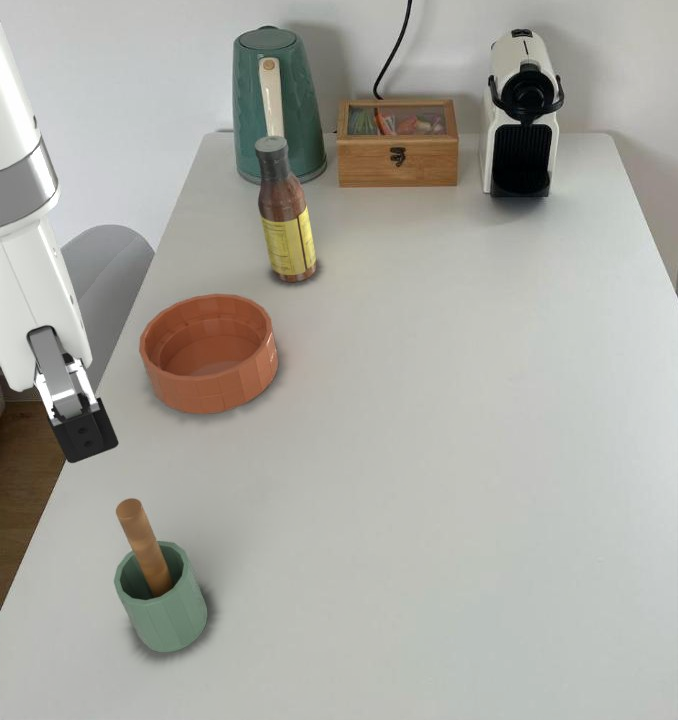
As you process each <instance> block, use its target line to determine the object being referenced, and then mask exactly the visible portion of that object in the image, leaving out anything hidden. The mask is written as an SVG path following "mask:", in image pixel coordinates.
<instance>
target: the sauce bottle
mask: <svg viewBox="0 0 678 720" xmlns="http://www.w3.org/2000/svg"><path fill="white" fill-rule="evenodd" d="M289 150H290V149H289V144H288V142H287V139H286V138H285V137H283V136H281V135H266V136H263V137H260V138H259V139H257V140H256V141H255V142H254V153H255V157H257V159H258V160H257V161H258V164H259V169H260V172H259V173H260V190H259V193H258V198H257V208H258V212H259V216H260V221H261V225H262V229H263V234H264V239H265V244H266V248H267V253H268V257H269V262H270V266H271V269H273V274H274V275H275V277H276V278H277V279H279V280H281V281H283V282H287V283H297V282H301V281H304V280H307V279H309V278H310V277H312V276H313V275H314V273H315V272H316V269H317V262H316V259H317V257H316V251H315V246H314V245H315V244H314V239H313V234H312V233H313V232H312V228H311V221H310V217H309V211H308V205H307V201H306V199H305V192H304V189H303V186H302V185H301V182H300V179H299V178H298V177H297V176H296V175H295V174H294V172H293V171H292V167H291V165H290V160H289Z"/></svg>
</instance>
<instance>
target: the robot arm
mask: <svg viewBox="0 0 678 720" xmlns="http://www.w3.org/2000/svg"><path fill="white" fill-rule="evenodd" d="M61 196H62V185H61V183H60V181H59V177H58V176H57V173H56V170H55V168H54V165H53V162H52V159H51V156H50V154H49V151H48V148H47V145H46V143H45V140H44V137H43V135H42V132H41V129H40V126H39V123H38V120H37V118H36V115H35V112H34V110H33V107H32V104H31V101H30V99H29V97H28V94H27V90H26V88H25V86H24V82H23V79H22V77H21V74H20V71H19V69H18V66H17V63H16V61H15V57H14V54H13V52H12V49H11V46H10V44H9V41H8V38H7V35H6V32H5V30H4V27H3V24H2V22H1V20H0V368H1V370H2V372H3V375H4V378H5V380H6V381H7V385H8V386H9V388H10V389H11V390H13V391H15V392H18V393H22V392H24V391H25V390H28V389H31V388H33V387H34V384H36V387H37V390H38V392H39V394H40V397H41V399H42V403H43V405H44V407H45V409H46V413H47V414H48V415H46V419H47V423H48V425H49V426H50V429H51V430H52V432H53V435H54V437H55V439H56V441H57V442H58V445H59V447H60V449H61V451H62V453H63V455H64V457H65V460H66V461H67V462H68V463H69V464H76V463H79V462H81V461H84V460H86V459H89V458H92V457H94V456H98V455H100V454H103V453H105V452H108V451H110V450H113V449H115V448H117V447H118V446H119V439H118V437H117V434H116V431H115V429H114V426H113V424H112V421H111V419H110V418H109V414H108V412H107V410H106V407H105V405H104V402H103V400H102V397H101V396H99V397H96V395H95V392H94V390H93V387H92V385H91V381H90V379H89V377H88V374H87V372H86V370H88V369H89V367H91V364H92V363H93V360H94V359H93V355H92V352H91V347H90V343H89V339H88V336H87V332H86V329H85V324H84V321H83V317H82V313H81V309H80V306H79V303H78V299H77V296H76V293H75V290H74V286H73V283H72V279H71V277H70V274H69V272H68V271H69V270H68V268H67V266H66V262H65V259H64V256H63V253H62V250H61V249H60V245H59V243H58V239H57V237H56V234H55V232H54V229H53V227H52V224H51V220H50V219H49V215H48V214H49V213H50V212H51V211H52V210H53V209H54V208H55V207H56V205H57V204H58V202H59V200H60V197H61ZM73 374H75V375H76V377H77V379H78V383H79V385H80V387H81V390H82V392H77V389H76V388H75V385H74V383H73V381H72V378H71V375H73Z"/></svg>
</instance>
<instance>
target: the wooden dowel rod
mask: <svg viewBox="0 0 678 720" xmlns="http://www.w3.org/2000/svg"><path fill="white" fill-rule="evenodd" d="M115 515H116V517H117V520H118V522H119V524H120V526H121V528H122V531H123V533H124V535H125V537H126V539H127V542H128V543H129V546H130V548H131V551H133V553H134V555H135V557H136V559H137V561H138V564H139V566H140V568H141V570H142V572H143V575H144V577H145V579H146V581H147V583H148V586H149V588H150V590H151V592H152V594H153V597H154V598H157V597H161V596H162V595H164V594H165V593H167V592H168V591H170V590H171V589H173V588H174V586H175V583H174V581H173V579H172V576H171V574H170V571H169V569H168V566H167V564H166V562H165V559H164V557H163V554H162V552H161V549H160V547H159V545H158V542H157V541H158V540H157V538H156V535H155V533H154V530H153V527H152V525H151V522H150V521H149V518H148V516H147V513H146V511H145V509H144V506H143V504H142V502H141V500H140V499H137V498H133V497H131V498H127V499H124V500H122V501H120V502H119V503H118V504H117V506H116V508H115Z"/></svg>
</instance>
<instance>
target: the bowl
mask: <svg viewBox="0 0 678 720" xmlns="http://www.w3.org/2000/svg"><path fill="white" fill-rule="evenodd" d="M274 333H275V332H274V327H273V322H272V318H271V317H270V315H269V314H268V312H267V311H266V309H265V308H264V307H263V306H262V305H260V304H259V303H257V302H256V301H254V300H252V299H251V298H248V297H245V296H240V295H237V294H228V293H209V294H203V295H196V296H192V297H189V298H186V299H183V300H181V301H177V302H176V303H174V304H172V305H170V306H168V307H166V308H164V309H163V310H161V311H160V312H159V313H157V314H156V316H154V317H153V318H152V319H151V320H149V322H148V323H147V324H146V326H145V328H144V330H143V332H142V333H141V334H140V337H139V345H138V352H139V355H140V358H141V361H142V364H143V367H144V369H145V373H146V376H147V378H148V381H149V384H150V386H151V389H152V392H153V393H154V395H155V397H156V398H157V399H158V400H159V401H161V402H162V403H163V404H164V405H165V406H167V407H168V408H171V409H174V410H177V411H179V412H182V413H187V414H199V415H208V414H209V415H210V414H214V413H215V414H216V413H221V412H226V411H229V410H231V409H235V408H237V407H240V406H242V405H245V404H247V403H249V402H250V401H252V400H253V399H254V398H256V397H258V396H259V395H260V394H262V393H263V392H264V391H265V389H266V388H268V386H269V385H270V384H271V383H272V382H273V380H274V378H275V376H276V373H277V370H278V368H279V356H278V350H277V344H276V339H275V334H274Z"/></svg>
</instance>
